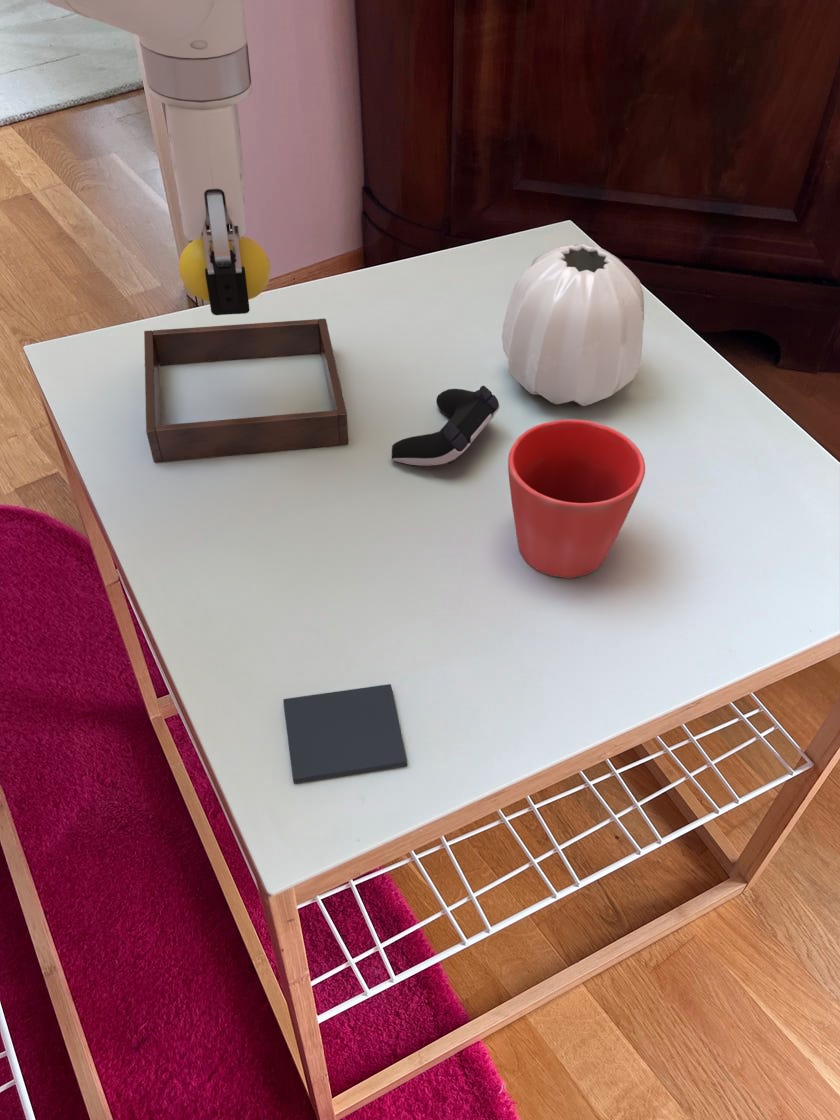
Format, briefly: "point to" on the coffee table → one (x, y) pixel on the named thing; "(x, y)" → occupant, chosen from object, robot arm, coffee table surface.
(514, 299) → the vase
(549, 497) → the flower pot
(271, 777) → the coffee table surface
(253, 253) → the yellow grooved capsule
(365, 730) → the mat
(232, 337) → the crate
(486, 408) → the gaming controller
